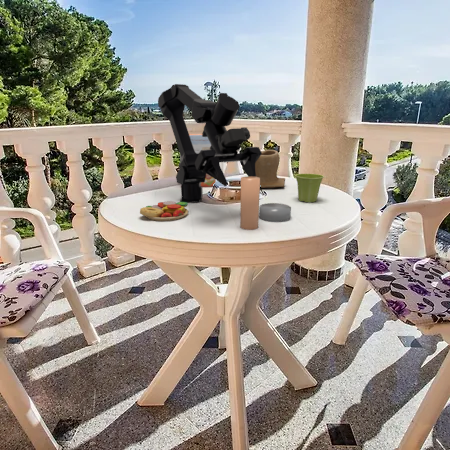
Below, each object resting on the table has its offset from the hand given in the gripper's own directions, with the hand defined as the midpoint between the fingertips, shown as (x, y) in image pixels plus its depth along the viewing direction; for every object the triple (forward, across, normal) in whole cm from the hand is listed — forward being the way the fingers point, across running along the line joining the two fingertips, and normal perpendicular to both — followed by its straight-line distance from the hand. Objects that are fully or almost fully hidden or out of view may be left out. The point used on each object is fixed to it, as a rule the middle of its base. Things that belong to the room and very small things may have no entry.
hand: (241, 183), depth 87 cm
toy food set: (-5, -14, +21) cm, 26 cm away
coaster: (+8, +11, +7) cm, 16 cm away
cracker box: (-28, +13, +43) cm, 53 cm away
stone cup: (-15, +36, +30) cm, 49 cm away
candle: (+11, 0, +5) cm, 12 cm away
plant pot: (+2, +34, +14) cm, 37 cm away
